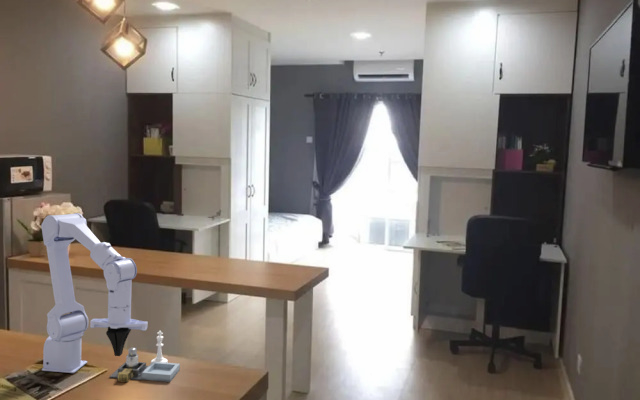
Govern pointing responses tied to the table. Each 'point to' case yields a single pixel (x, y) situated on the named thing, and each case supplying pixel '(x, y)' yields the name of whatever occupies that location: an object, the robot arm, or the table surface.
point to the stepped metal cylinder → (132, 359)
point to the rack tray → (161, 371)
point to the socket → (136, 373)
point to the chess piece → (159, 349)
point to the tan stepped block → (125, 375)
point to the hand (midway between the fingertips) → (118, 354)
